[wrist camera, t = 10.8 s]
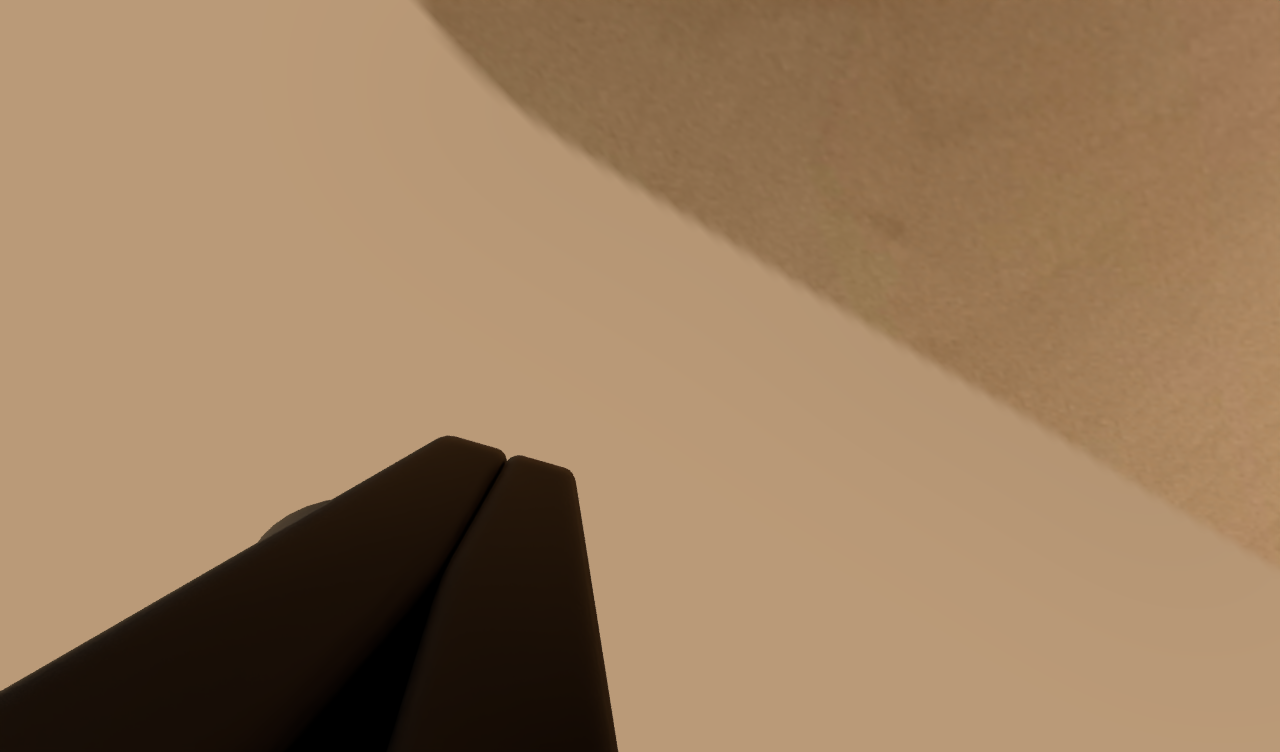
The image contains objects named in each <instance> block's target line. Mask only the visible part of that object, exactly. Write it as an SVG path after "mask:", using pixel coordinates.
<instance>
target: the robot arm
mask: <svg viewBox="0 0 1280 752" xmlns="http://www.w3.org/2000/svg"><path fill="white" fill-rule="evenodd" d="M0 752H618V748H617V741H616V735H615V728H614V722H613V716H612V709H611V703H610V697H609V690H608V684H607V678H606V671H605V665H604V659H603V652H602V646H601V640H600V633H599V627H598V621H597V614H596V607H595V601H594V595H593V589H592V583H591V576H590V569H589V563H588V556H587V550H586V544H585V537H584V531H583V525H582V519H581V512H580V506H579V500H578V493H577V487H576V481H575V478H574V476H573V474H572V472H570V470H568V469H566V468H564V467H560V466H556V465H553V464H549V463H546V462H543V461H539V460H535V459H532V458H528V457H525V456H520V455H517V456H514V457H511V458H510V459H509V460H508V461H507V459H506V456H505V454H504V453H503V452H502V451H501V450H499V449H497V448H493V447H490V446H486V445H483V444H480V443H476V442H472V441H469V440H466V439H462V438H459V437H455V436H444V437H440V438H438V439H436V440H434V441H432V442H431V443H429V444H427V445H426V446H424V447H422V448H420V449H419V450H417V451H415V452H413V453H412V454H410V455H408V456H407V457H405V458H403V459H401V460H400V461H398V462H396V463H395V464H393V465H391V466H389V467H387V468H386V469H384V470H382V471H381V472H379V473H377V474H375V475H374V476H372V477H371V478H369V479H367V480H365V481H363V482H362V483H360V484H358V485H356V486H355V487H353V488H351V489H349V490H348V491H346V492H344V493H343V494H341V495H339V496H337V497H336V498H334V499H332V500H330V501H329V502H327V503H325V504H323V505H322V506H320V507H318V508H317V509H315V510H313V511H311V512H310V513H308V514H306V515H304V516H303V517H301V518H299V519H298V520H296V521H294V522H292V523H291V524H289V525H287V526H285V527H284V528H282V529H280V530H279V531H277V532H275V533H273V534H272V535H270V536H268V537H266V538H265V539H263V540H261V541H260V542H258V543H256V544H255V545H253V546H251V547H250V548H248V549H246V550H244V551H242V552H240V553H239V554H237V555H236V556H234V557H232V558H230V559H228V560H227V561H225V562H223V563H222V564H220V565H218V566H216V567H215V568H213V569H211V570H209V571H208V572H206V573H204V574H202V575H201V576H199V577H197V578H196V579H194V580H192V581H190V582H189V583H187V584H185V585H183V586H182V587H180V588H179V589H177V590H175V591H173V592H171V593H170V594H168V595H166V596H164V597H163V598H161V599H159V600H158V601H156V602H154V603H152V604H151V605H149V606H147V607H145V608H144V609H142V610H140V611H139V612H137V613H135V614H133V615H132V616H130V617H128V618H126V619H125V620H123V621H121V622H119V623H118V624H116V625H115V626H113V627H111V628H109V629H108V630H106V631H104V632H102V633H100V634H99V635H97V636H95V637H94V638H92V639H90V640H88V641H87V642H85V643H83V644H81V645H80V646H78V647H76V648H75V649H73V650H71V651H69V652H68V653H66V654H64V655H62V656H61V657H59V658H57V659H56V660H54V661H52V662H50V663H49V664H47V665H45V666H43V667H42V668H40V669H38V670H36V671H35V672H33V673H31V674H30V675H28V676H26V677H24V678H23V679H21V680H19V681H17V682H16V683H14V684H12V685H11V686H9V687H7V688H5V689H4V690H2V691H0Z"/></svg>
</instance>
